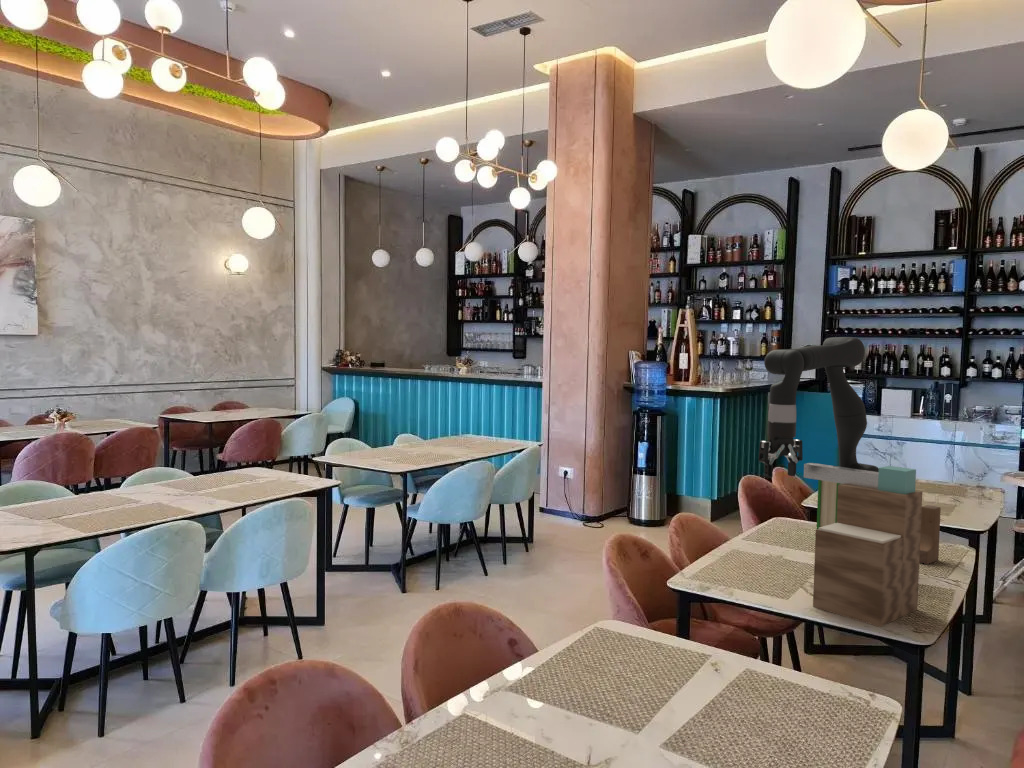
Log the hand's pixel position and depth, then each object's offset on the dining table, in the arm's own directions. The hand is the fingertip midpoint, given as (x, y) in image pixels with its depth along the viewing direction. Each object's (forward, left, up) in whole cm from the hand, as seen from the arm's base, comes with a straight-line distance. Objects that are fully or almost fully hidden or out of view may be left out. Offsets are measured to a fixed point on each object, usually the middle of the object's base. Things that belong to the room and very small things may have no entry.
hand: (780, 476), depth 210 cm
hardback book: (-75, +5, -33) cm, 82 cm away
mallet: (-6, +19, -1) cm, 20 cm away
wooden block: (-60, +35, -33) cm, 77 cm away
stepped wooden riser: (+2, +23, -33) cm, 40 cm away
